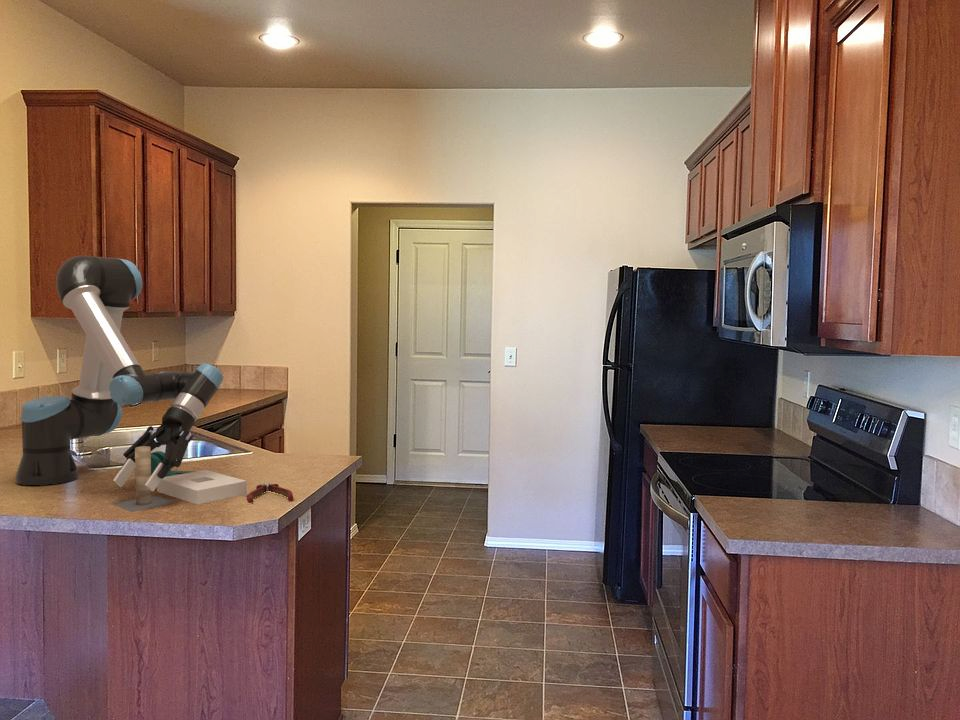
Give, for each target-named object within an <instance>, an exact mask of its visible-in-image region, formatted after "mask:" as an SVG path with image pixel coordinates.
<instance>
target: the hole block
mask: <svg viewBox="0 0 960 720" xmlns="http://www.w3.org/2000/svg"><path fill="white" fill-rule="evenodd" d="M156 491H157V492H158V493H161V494H162V495H163V494H164V495H167V496H170V497H172V498H176V499H177V500H183V501H185V502H188V503H191V504H194V505H197V506H198V505H203V504H206V503H212V502H216V501H221V500H226V499H230V498H235V497H243V496H244V497H247V496H248V480H245V479H242V478H238V477H237V478H236V477H233V476H229V475H227V474H222V473H218V472H215V471H212V470H207V469H204V470H197V471H196V472H191V473H185V474H179V475H173V476H167V477H164V478H163V479H162V480H161V481H160V483H159V484H158V486H157V487H156Z"/></svg>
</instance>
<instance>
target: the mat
mask: <svg viewBox="0 0 960 720" xmlns="http://www.w3.org/2000/svg"><path fill="white" fill-rule="evenodd" d="M173 504H177V502H176V501H172V500H169V499H167V498H163V497H160V496H158V495H155V494H154V495H151V503H150V504H147V505H137V504H136V498H134V499H129V500H124V501H123V500H122V501H118V502H112V503H111V505H113V506H116V507H118V508H120V509H124V510H125V511H129V512H131V513H133V512H138V511H142V510H143V511H144V510H148V509H153V508H157V507H162V506H166V505H173Z"/></svg>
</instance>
